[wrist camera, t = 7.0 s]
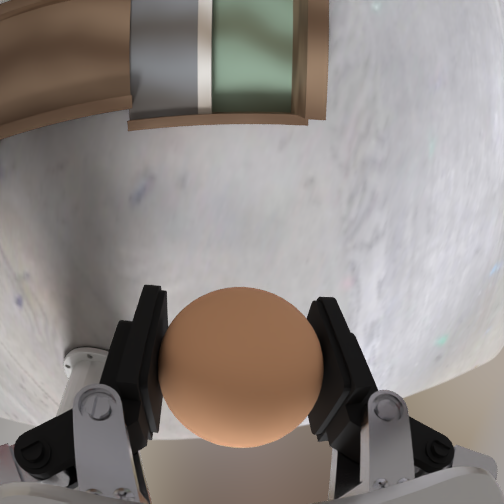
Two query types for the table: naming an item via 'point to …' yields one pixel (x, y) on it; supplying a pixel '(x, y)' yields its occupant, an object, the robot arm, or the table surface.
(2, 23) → the lane
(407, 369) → the table surface
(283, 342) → the ball
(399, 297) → the table surface
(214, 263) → the table surface
